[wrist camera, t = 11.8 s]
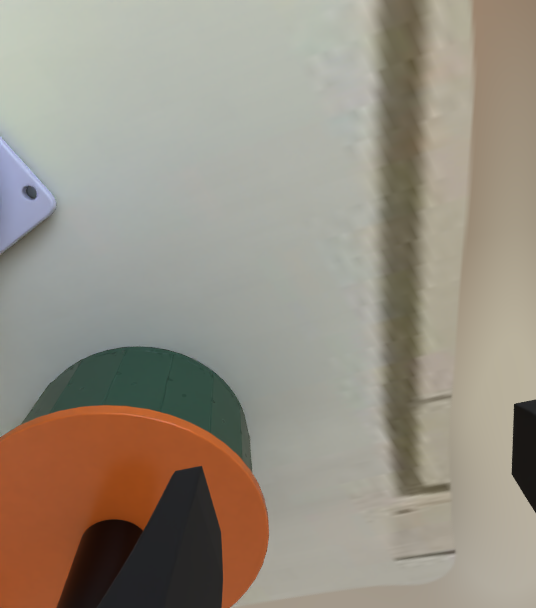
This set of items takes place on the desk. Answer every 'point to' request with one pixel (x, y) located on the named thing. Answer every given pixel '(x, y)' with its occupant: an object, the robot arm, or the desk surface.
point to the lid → (111, 501)
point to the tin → (151, 391)
